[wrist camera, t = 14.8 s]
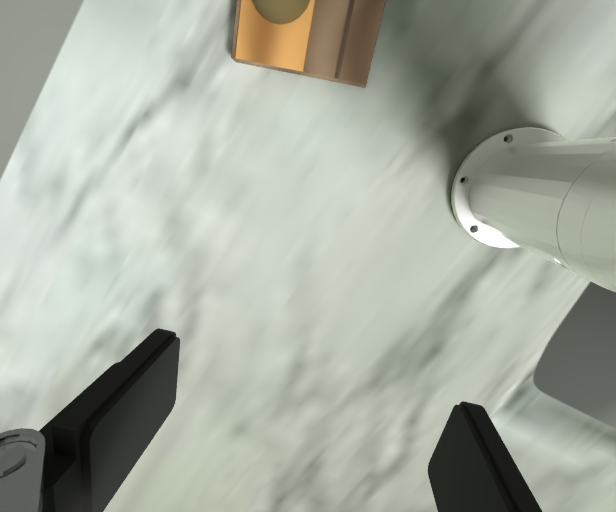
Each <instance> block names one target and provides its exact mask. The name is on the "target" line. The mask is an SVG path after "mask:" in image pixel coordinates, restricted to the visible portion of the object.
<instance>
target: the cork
mask: <svg viewBox="0 0 616 512" xmlns="http://www.w3.org/2000/svg"><path fill="white" fill-rule="evenodd" d="M252 1H253V3H254V6H255V8H256V10H257V11H258V12H259V13H260V15H261V16H262V17H263V18H264V19H266V20H268V21H269V22H271V23H275V24H280V25H282V24H287V23H291V22H293V21H294V20H296V19H298V18H299V17H300V16H301V15H302V14H303V13H304V11H305V10H306V9H307V7H308V5H309V2H310V0H252Z"/></svg>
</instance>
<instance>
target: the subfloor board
mask: <svg viewBox="0 0 616 512" xmlns="http://www.w3.org/2000/svg"><path fill="white" fill-rule="evenodd" d="M384 4H385V0H310V2H309V5H308V7H307V9H306V10H305V11H304V13H303V14H302V15H301V16H300V17H299V18H298V19H296V20H294V21H293V22H291V23H287V24H282V25H280V24H275V23H271V22H269V21H268V20H266V19H264V18H263V17H262V16H261V15H260V13H259V12H258V11H257V10H256V8H255V6H254V3H253V1H252V0H237V6H236V16H235V26H234V35H233V45H232V55H231V58H232V59H233V60H234V61H236V62H239V63H244V64H249V65H254V66H259V67H264V68H269V69H274V70H279V71H284V72H289V73H294V74H299V75H304V76H309V77H314V78H319V79H324V80H329V81H334V82H339V83H344V84H349V85H354V86H359V87H364V88H365V86H366V83H367V78H368V74H369V70H370V65H371V61H372V57H373V52H374V48H375V44H376V39H377V35H378V30H379V26H380V22H381V17H382V13H383V9H384Z"/></svg>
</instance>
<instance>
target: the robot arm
mask: <svg viewBox="0 0 616 512" xmlns="http://www.w3.org/2000/svg"><path fill="white" fill-rule="evenodd" d="M504 137H506V141H505V142H504ZM461 178H463V179H464V181H463V182H460V179H461ZM451 204H452V209H453V214H454V216H455V218H456V220H457V222H458V224H459V225H460V226H461V228H462V229H463V230H464V231H465V232H466V233H467V234H468V235H469V236H470V237H472V238H474V239H475V240H477V241H478V242H481V243H483V244H485V245H488V246H492V247H497V248H516V247H523V248H525V249H527V250H529V251H531V252H533V253H535V254H537V255H539V256H541V257H543V258H545V259H547V260H549V261H551V262H553V263H555V264H557V265H559V266H561V267H563V268H565V269H567V270H569V271H571V272H573V273H575V274H577V275H579V276H581V277H583V278H585V279H587V280H589V281H591V282H594V283H596V284H598V285H600V286H602V287H604V288H606V289H609V290H611V291H614V292H616V136H615V137H603V138H590V139H577V140H565V139H564V138H563V137H561V136H559V135H558V134H556V133H554V132H552V131H549V130H545V129H542V128H533V127H526V128H516V129H511V130H506V131H504V132H501V133H498V134H496V135H493V136H492V137H490V138H488V139H486V140H485V141H483V142H482V143H480V144H479V145H478V146H477V147H476V148H474V149H473V150H472V151H471V152H470V154H469V155H468V156H467V157H466V158H465V159H464V161H463V162H462V164H461V166H460V167H459V169H458V171H457V173H456V176H455V178H454V181H453V186H452V191H451ZM471 226H473V228H472V229H470V227H471ZM179 348H180V339H179V338H178V337H176V333H175V332H172V331H168V330H164V329H156V330H155V331H154V332H152V333H151V334H150V335H149V336H148V337H147V338H146V339H145V340H144V341H143V342H142V343H140V344H139V345H138V346H137V347H136V348H135V349H134V350H133V351H132V352H131V353H129V354H128V355H127V356H126V357H125V358H124V359H123V360H122V361H121V362H118V363H115V364H114V365H112V366H111V367H110V368H109V369H108V370H106V371H105V372H104V373H103V374H102V375H101V376H100V377H99V378H97V379H96V380H95V381H94V382H93V383H92V384H91V385H90V386H89V387H87V388H86V389H85V390H84V391H83V392H82V393H81V394H80V395H79V396H77V397H76V398H75V399H74V400H73V401H72V402H71V403H70V404H69V405H67V406H66V407H65V408H64V409H63V410H62V411H61V412H60V413H58V414H57V415H56V416H55V417H54V418H53V419H52V420H51V421H50V422H48V423H47V424H46V425H45V426H44V427H43V428H42V429H41V430H40V431H36V430H33V429H22V428H21V429H15V430H9V431H6V432H3V433H0V512H103V511H104V509H105V508H106V506H107V505H108V503H109V502H110V501H111V499H112V498H113V496H114V495H115V493H116V492H117V490H118V489H119V487H120V486H121V484H122V483H123V481H124V480H125V478H126V477H127V476H128V474H129V473H130V471H131V470H132V468H133V467H134V465H135V464H136V462H137V461H138V459H139V458H140V456H141V455H142V453H143V452H144V451H145V449H146V448H147V446H148V445H149V443H150V442H151V440H152V439H153V437H154V436H155V434H156V433H157V431H158V430H159V428H160V427H161V426H162V424H163V423H164V421H165V420H166V418H167V417H168V415H169V414H170V412H171V411H172V409H173V407H174V404H175V400H176V388H177V375H178V362H179ZM428 475H429V479H430V483H431V487H432V491H433V494H434V498H435V502H436V506H437V509H438V512H542V510H541V509H540V507H539V505H538V503H537V501H536V500H535V498H534V496H533V494H532V493H531V491H530V489H529V487H528V485H527V484H526V482H525V480H524V478H523V476H522V475H521V473H520V471H519V469H518V468H517V466H516V464H515V462H514V460H513V459H512V457H511V455H510V453H509V452H508V450H507V448H506V446H505V444H504V443H503V441H502V439H501V437H500V436H499V434H498V432H497V430H496V428H495V427H494V425H493V423H492V421H491V420H490V418H489V416H488V414H487V412H486V411H485V409H484V408H483V407H482V406H481V405H476V404H472V403H468V402H461V403H460V404H459V405H455V406H454V408H453V410H452V412H451V414H450V417H449V419H448V421H447V423H446V426H445V428H444V430H443V432H442V435H441V437H440V439H439V441H438V444H437V446H436V448H435V450H434V453H433V455H432V457H431V459H430V462H429V465H428Z"/></svg>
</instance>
